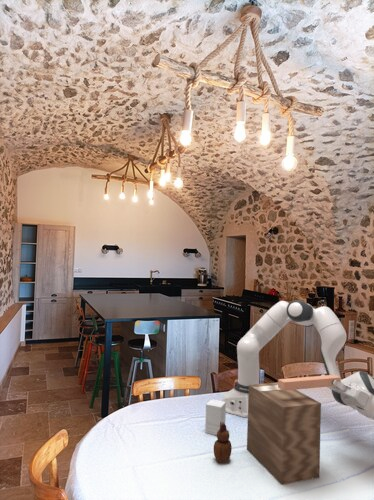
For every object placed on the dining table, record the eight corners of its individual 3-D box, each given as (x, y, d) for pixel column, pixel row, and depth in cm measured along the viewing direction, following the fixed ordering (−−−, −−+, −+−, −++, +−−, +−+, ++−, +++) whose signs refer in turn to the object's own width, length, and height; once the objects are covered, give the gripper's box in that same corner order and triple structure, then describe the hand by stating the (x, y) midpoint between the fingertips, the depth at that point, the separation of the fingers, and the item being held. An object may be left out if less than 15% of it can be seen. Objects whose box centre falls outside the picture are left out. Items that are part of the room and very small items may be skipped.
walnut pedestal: (280, 444, 148) (281, 381, 149) (319, 477, 125) (321, 402, 127) (246, 449, 143) (248, 384, 144) (281, 484, 120) (283, 406, 122)
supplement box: (225, 430, 160) (226, 401, 160) (220, 436, 153) (221, 407, 153) (210, 426, 163) (211, 398, 163) (204, 432, 156) (205, 403, 157)
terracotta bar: (334, 382, 139) (334, 374, 139) (340, 385, 135) (340, 377, 135) (277, 387, 130) (278, 379, 130) (283, 390, 127) (283, 382, 127)
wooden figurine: (218, 466, 130) (220, 424, 131) (210, 458, 135) (212, 418, 136) (233, 462, 133) (235, 421, 134) (225, 454, 138) (226, 415, 139)
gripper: (336, 379, 150) (314, 364, 146) (377, 396, 130) (352, 380, 127) (330, 393, 148) (307, 378, 145) (370, 412, 129) (345, 396, 125)
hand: (328, 379), depth 136 cm, fingers closed on terracotta bar, 3 cm apart
